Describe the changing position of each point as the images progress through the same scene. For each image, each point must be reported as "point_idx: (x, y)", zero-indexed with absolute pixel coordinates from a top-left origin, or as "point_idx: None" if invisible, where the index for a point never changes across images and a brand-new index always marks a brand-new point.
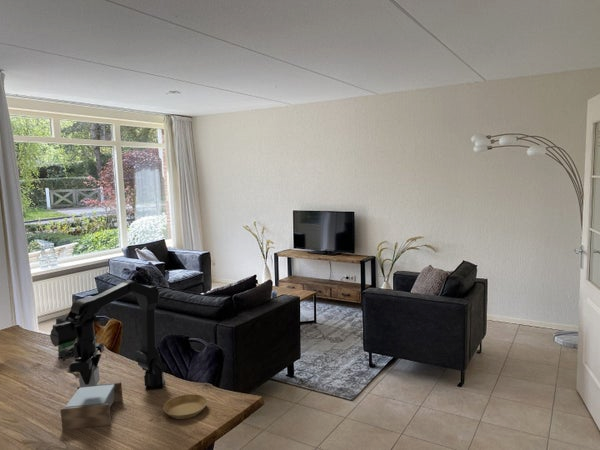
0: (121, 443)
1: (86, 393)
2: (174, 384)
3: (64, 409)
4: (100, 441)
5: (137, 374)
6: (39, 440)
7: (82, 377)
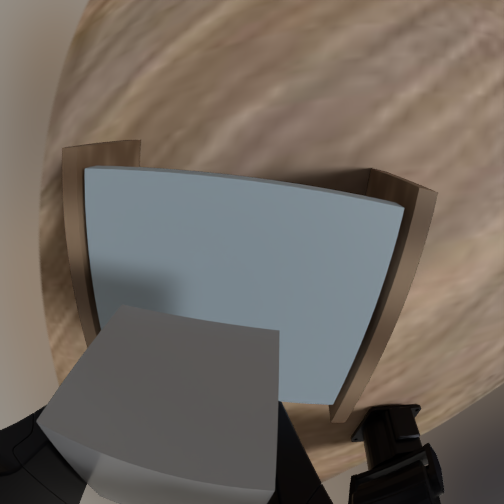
0: (52, 343)
1: (261, 277)
2: (358, 452)
3: (64, 172)
4: (52, 297)
5: (499, 359)
6: (78, 77)
7: (42, 410)
